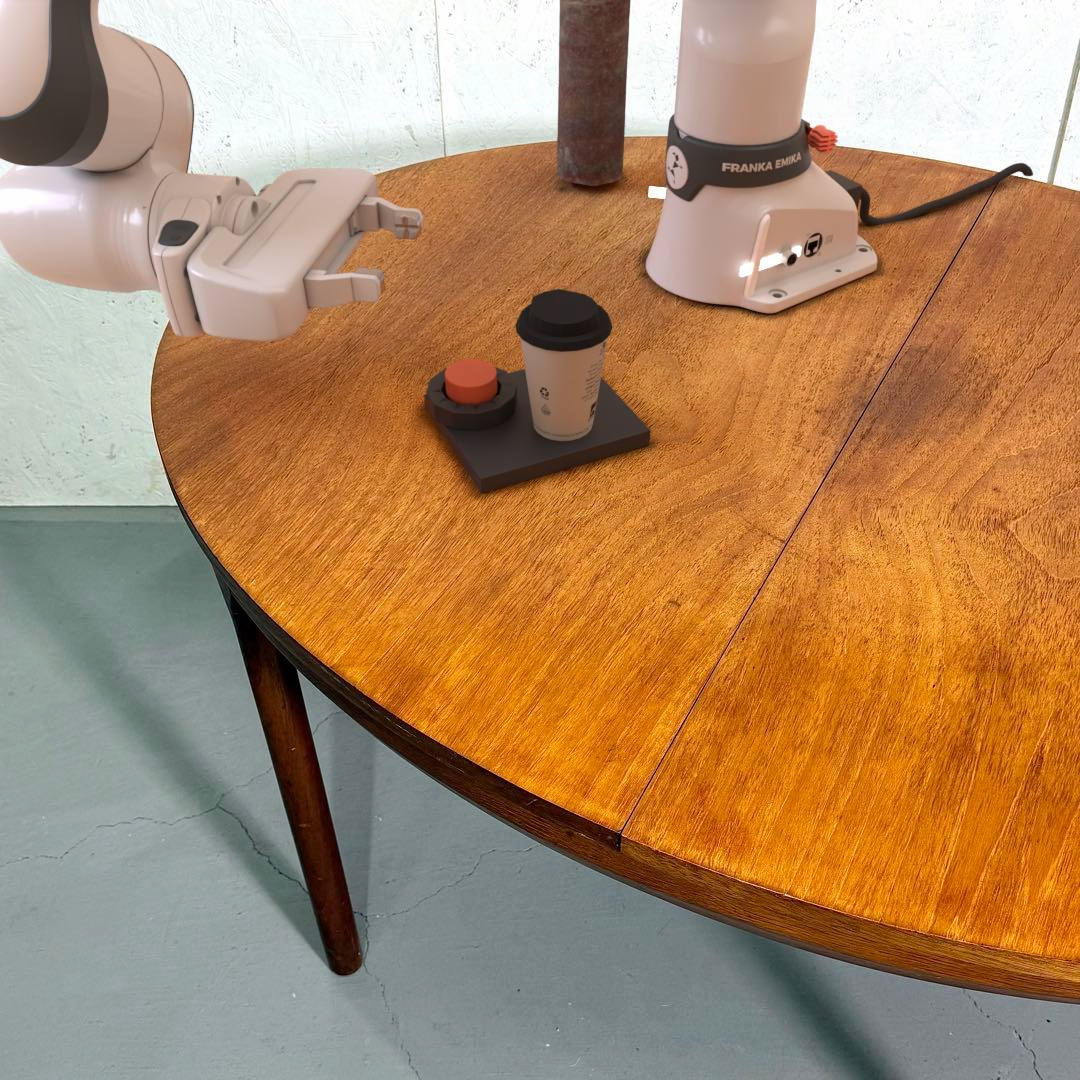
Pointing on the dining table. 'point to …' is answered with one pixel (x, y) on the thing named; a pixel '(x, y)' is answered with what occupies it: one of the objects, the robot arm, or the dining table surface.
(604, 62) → the candle
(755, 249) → the robot arm
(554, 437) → the coffee cup
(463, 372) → the red button cap
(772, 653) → the dining table surface
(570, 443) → the dark grey button base
